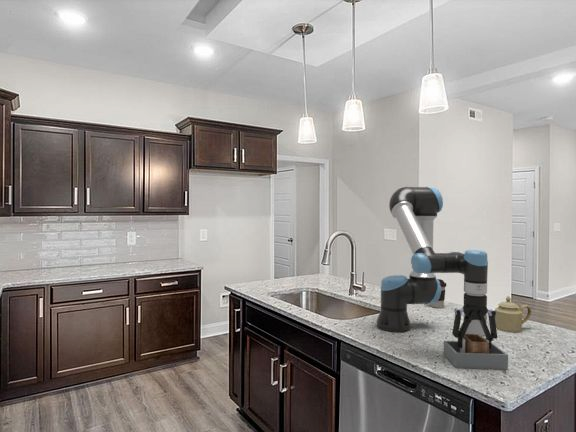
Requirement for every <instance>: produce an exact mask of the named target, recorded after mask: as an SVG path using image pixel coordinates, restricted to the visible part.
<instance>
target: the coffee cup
mask: <svg viewBox="0 0 576 432" xmlns="http://www.w3.org/2000/svg"><path fill="white" fill-rule="evenodd" d="M437 279H438V280H439V282H440V285H441V295H440V298H439V299H438V300H437V302H435V303H431V304H429V306H430V308H433V309H443V307H444V304H445V303H444V302H445V300H446V297H445V296H446V287H447V283H446V282H445V281H444V280H443V279H441V278H440V279H439V278H437Z"/></svg>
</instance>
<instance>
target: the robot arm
mask: <svg viewBox="0 0 576 432" xmlns="http://www.w3.org/2000/svg"><path fill="white" fill-rule="evenodd" d="M441 193H442V192H441V191H440V190H439V189H437V188H436V187H429V186H403V187H400V188H398V189H397V190H395V191H393V194H392V195H391V196H390V199H389V205H388V207H389V211H390V213H391V215H392V218H394V219H396V220H397V223H398V226H399V227H400V229H401V232H402V233H403V235H404V236H403V237H405V240H406V242H407V244H408V247H409V248H410V250H411V252H412V256H411V258H410V263H411V268H412V270H411V272H410V273H409V276H408V277H407V276H406V275H401V274H400V275H398V274H397V275H395V274H394V275H388V276H385V277H384V278H382V279H381V283H380V310H379V314H378V316H377V319H376V327H377V328H379V329H380V330H382V331H386V332H393V333H404V332H408V331H410V330H411V329H412V327H411V325H412V324H411V321H410V317H409V314H408V305H430V304H431V303H435V302H437V300H438V299H439V298H440V295H441V285H440V282H439V280H438V279H439V278H437V275H436V274H445V273H446V274H450V273H451V274H455V273H456V274H461V275H463V292H464V293H463V306H462V307H461V308H454V315H455V316H454V322H453V328H452V333H451V334H452V336H453V337H455V338H457V341H458V347H459V348H460V353H465V339H464V338H463V337H464V335H465V333H466V331H467V328H468V326H469V324H470V323H471V321H472V320H479V321H480V324H481V326H482V329H483V331H484V336H485V337H483V338H484V339H485V340H486V341H487V342H489V349H491V342H492V343H493V341H494V340H495V339H498V329H496V322H495V315H496V312H495V309H488V308H487V305H488V296H487V294H488V271H489V270H488V266H489V261H488V253H487V252H486V251H484V250H477V249H467V250H465V251H464V253H463V252H460V251H459V252H458V251H449V252H445V253H443V252H440V253H439V252H437V253H436V252H435V251H434V220H435V219H436V218H437V217H438V213H440V212H442V210H443V207H444V199H443V195H442V194H441ZM464 313H465V317H464V316H463V314H464ZM486 314H487V318H488V324H489V326H488V324H487V323H486V320H485V318H484V316H485V315H486ZM462 316H463V317H464V321H461V320H462ZM461 322H462V324H461Z"/></svg>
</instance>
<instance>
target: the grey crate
mask: <svg viewBox="0 0 576 432" xmlns="http://www.w3.org/2000/svg"><path fill="white" fill-rule="evenodd" d="M443 356H445V358H446V359H447V360H448V361H449V362H450V363H451V365H453V367H455V369H457V368H458V369H459V368H460V369H483V370H484V369H485V370H489V369H490V370H509V354H508V353H506V352H505V351H504V350H502V349H501V348H500V347H498V346H497V345H496V344H494V343H493V341H492V342H491V349H489V354H485V353H460V348H459V347H458V340H443Z"/></svg>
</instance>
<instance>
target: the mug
mask: <svg viewBox="0 0 576 432" xmlns="http://www.w3.org/2000/svg"><path fill="white" fill-rule="evenodd" d="M464 317H465V313H464V312H463V319H462V320H463V321H464ZM484 318H485V320H486V324H487V322H488V313H486V315H485V316H484ZM463 321H462V322H463ZM465 334H478V335H480V336H481V337H484V336H485V334H484V331H483V329H482V326H481V324H480V321H479V320H472V321H471V323H470V324H469V326H468V328H467V331H466V333H465Z"/></svg>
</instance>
